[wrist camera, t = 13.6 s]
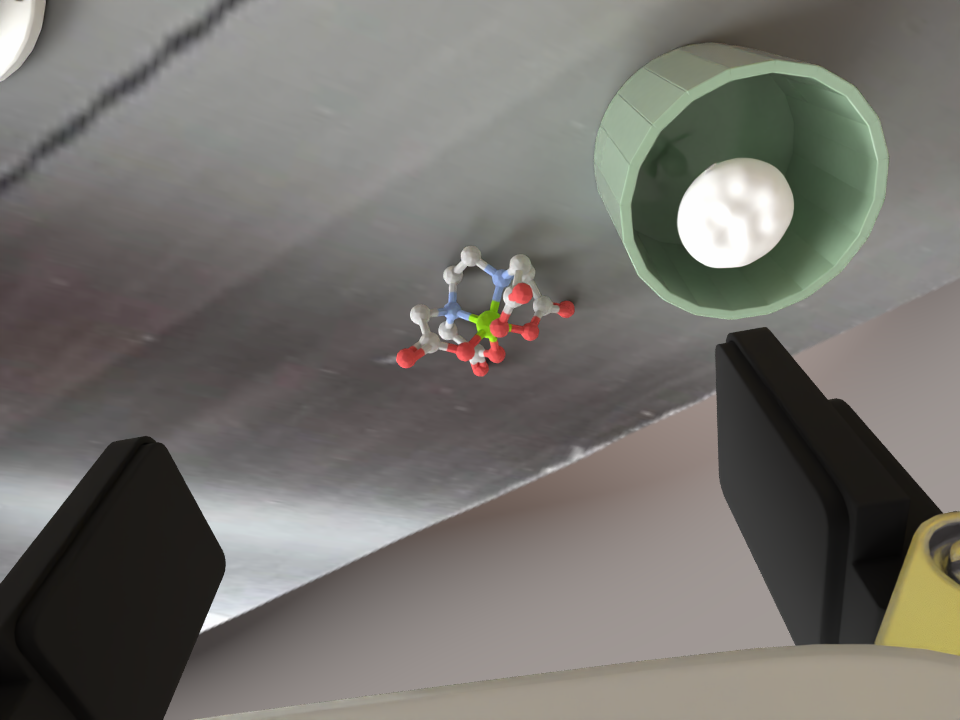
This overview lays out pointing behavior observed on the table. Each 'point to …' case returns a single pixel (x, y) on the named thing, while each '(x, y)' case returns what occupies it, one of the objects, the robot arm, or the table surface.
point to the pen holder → (755, 133)
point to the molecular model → (488, 321)
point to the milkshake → (723, 202)
